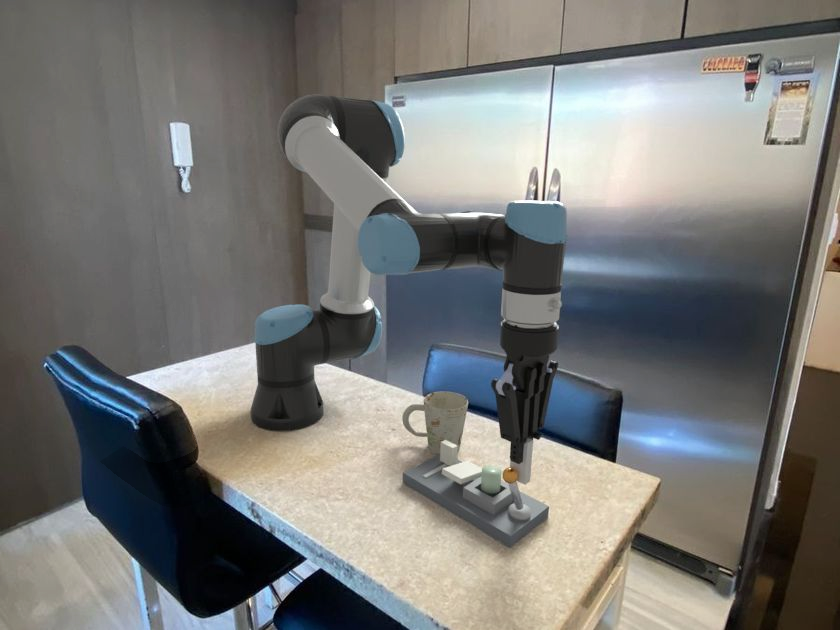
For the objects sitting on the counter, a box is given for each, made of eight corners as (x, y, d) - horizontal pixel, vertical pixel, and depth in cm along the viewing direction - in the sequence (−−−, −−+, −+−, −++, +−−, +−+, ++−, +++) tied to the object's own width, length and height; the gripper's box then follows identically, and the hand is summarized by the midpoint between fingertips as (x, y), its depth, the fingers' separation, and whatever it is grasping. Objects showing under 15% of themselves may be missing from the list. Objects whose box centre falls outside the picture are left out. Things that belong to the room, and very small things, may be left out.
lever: (509, 508, 77) (498, 472, 72) (517, 497, 78) (506, 461, 74) (521, 515, 75) (511, 479, 71) (529, 504, 76) (519, 467, 72)
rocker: (441, 473, 83) (442, 468, 83) (466, 465, 88) (467, 460, 88) (460, 484, 81) (461, 478, 80) (485, 475, 85) (486, 470, 85)
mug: (462, 462, 95) (465, 411, 92) (396, 453, 97) (397, 404, 95) (467, 440, 103) (470, 393, 100) (406, 433, 105) (407, 387, 103)
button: (476, 487, 80) (478, 470, 80) (488, 480, 82) (489, 463, 82) (492, 496, 78) (493, 478, 78) (504, 488, 80) (505, 471, 80)
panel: (402, 483, 88) (403, 463, 87) (442, 461, 95) (443, 443, 94) (509, 548, 73) (511, 525, 72) (548, 517, 80) (550, 495, 79)
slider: (439, 460, 90) (440, 442, 90) (444, 458, 91) (445, 439, 90) (451, 467, 89) (452, 448, 88) (456, 464, 89) (457, 445, 88)
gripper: (526, 336, 61) (515, 510, 67) (579, 317, 70) (566, 472, 76) (476, 324, 66) (470, 486, 72) (532, 307, 75) (522, 453, 81)
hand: (519, 479), depth 74 cm, fingers closed
